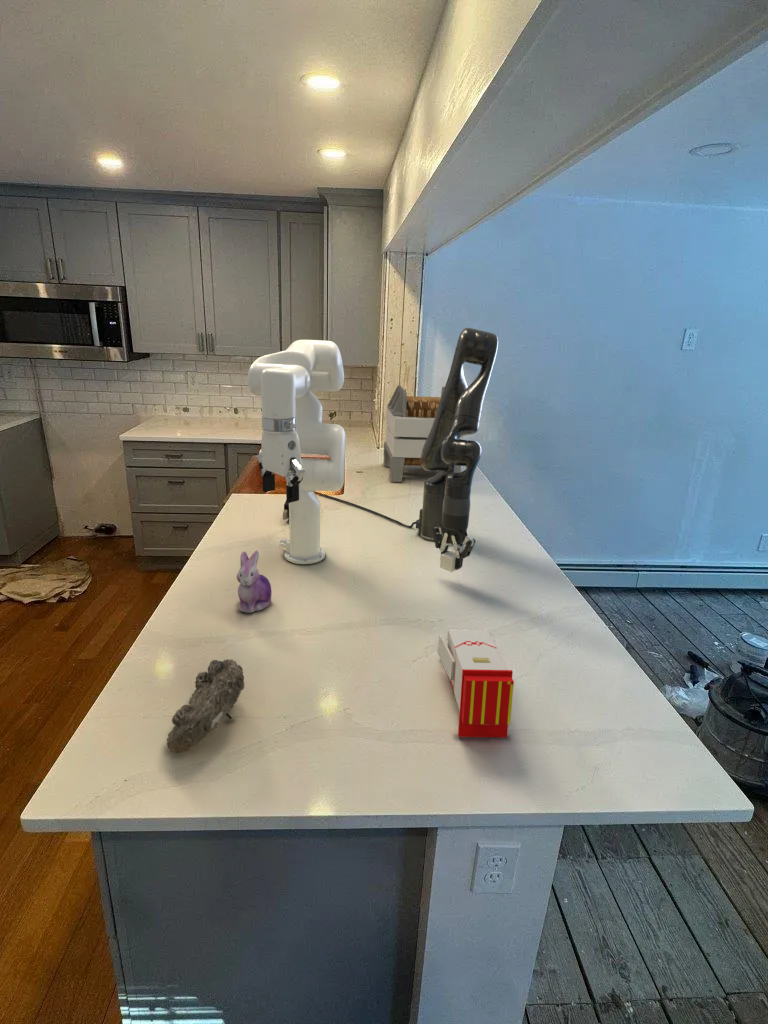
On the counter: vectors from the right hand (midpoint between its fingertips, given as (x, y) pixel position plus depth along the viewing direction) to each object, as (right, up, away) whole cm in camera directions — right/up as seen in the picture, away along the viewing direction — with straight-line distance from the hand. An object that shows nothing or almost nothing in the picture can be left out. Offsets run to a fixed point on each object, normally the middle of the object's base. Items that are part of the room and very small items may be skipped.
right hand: (450, 565), depth 164 cm
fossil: (-52, -24, -55) cm, 80 cm away
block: (0, 0, 0) cm, 0 cm away
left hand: (-44, +19, -29) cm, 56 cm away
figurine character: (-53, +13, +46) cm, 71 cm away
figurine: (-53, -9, -15) cm, 56 cm away
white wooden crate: (-2, +34, +111) cm, 117 cm away
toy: (-1, -22, -45) cm, 50 cm away
